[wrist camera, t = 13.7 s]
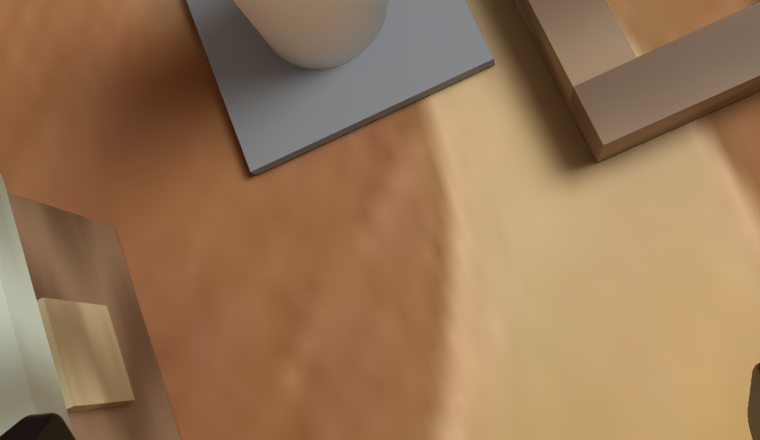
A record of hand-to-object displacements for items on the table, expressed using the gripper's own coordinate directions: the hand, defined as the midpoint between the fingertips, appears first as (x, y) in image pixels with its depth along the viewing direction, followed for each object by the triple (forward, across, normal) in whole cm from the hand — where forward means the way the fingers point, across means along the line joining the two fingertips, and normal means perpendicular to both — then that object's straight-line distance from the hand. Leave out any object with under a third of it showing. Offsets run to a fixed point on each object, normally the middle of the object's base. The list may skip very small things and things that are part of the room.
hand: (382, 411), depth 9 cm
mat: (+19, +4, 0) cm, 19 cm away
